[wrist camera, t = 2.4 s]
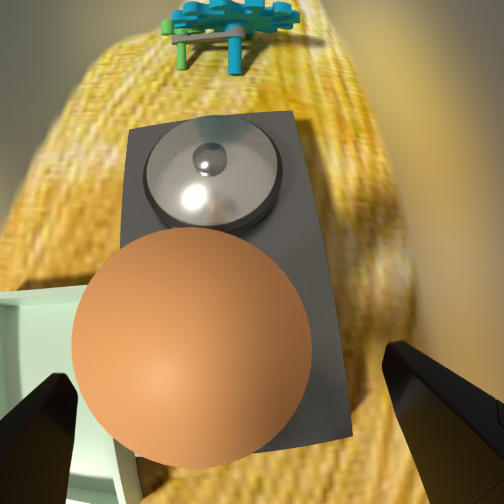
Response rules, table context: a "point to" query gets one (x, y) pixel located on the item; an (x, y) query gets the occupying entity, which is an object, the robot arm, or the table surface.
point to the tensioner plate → (248, 229)
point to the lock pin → (191, 347)
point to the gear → (225, 25)
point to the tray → (60, 360)
